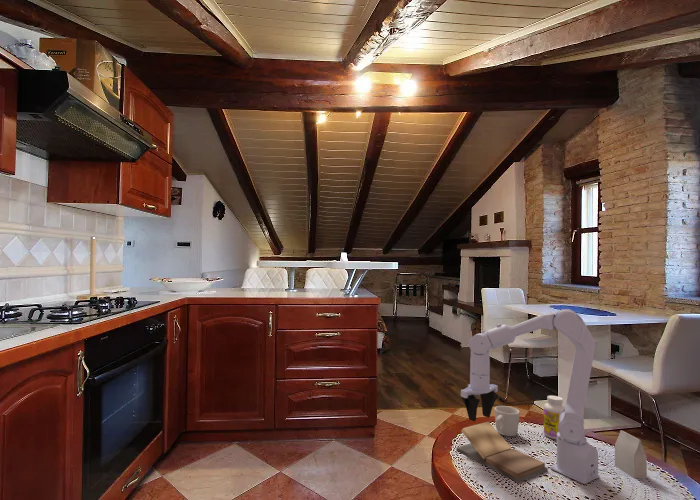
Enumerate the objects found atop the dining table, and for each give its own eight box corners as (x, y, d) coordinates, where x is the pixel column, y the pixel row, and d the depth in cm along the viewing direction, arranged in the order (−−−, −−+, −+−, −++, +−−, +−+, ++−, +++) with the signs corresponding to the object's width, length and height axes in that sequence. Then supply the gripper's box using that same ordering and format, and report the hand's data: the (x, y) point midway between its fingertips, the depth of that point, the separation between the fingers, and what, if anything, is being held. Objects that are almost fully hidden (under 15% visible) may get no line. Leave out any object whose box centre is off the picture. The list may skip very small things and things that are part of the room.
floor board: (547, 470, 108) (547, 463, 108) (518, 483, 101) (518, 475, 101) (485, 441, 126) (485, 435, 126) (456, 450, 119) (456, 443, 119)
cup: (508, 443, 125) (509, 417, 126) (485, 435, 131) (485, 410, 132) (523, 434, 132) (523, 410, 133) (501, 427, 138) (501, 404, 139)
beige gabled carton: (634, 478, 105) (633, 440, 106) (614, 465, 112) (614, 430, 113) (646, 478, 106) (646, 440, 106) (626, 465, 113) (626, 430, 113)
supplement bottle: (539, 433, 134) (539, 395, 134) (554, 431, 136) (554, 393, 136) (554, 441, 127) (554, 401, 128) (570, 439, 129) (570, 400, 130)
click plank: (509, 450, 117) (511, 447, 117) (483, 459, 111) (485, 456, 111) (486, 424, 125) (488, 421, 124) (461, 431, 119) (462, 428, 118)
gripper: (484, 367, 128) (484, 410, 128) (453, 372, 121) (452, 417, 120) (503, 372, 122) (503, 417, 122) (471, 378, 115) (470, 425, 114)
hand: (479, 418), depth 120 cm, fingers open, 6 cm apart
